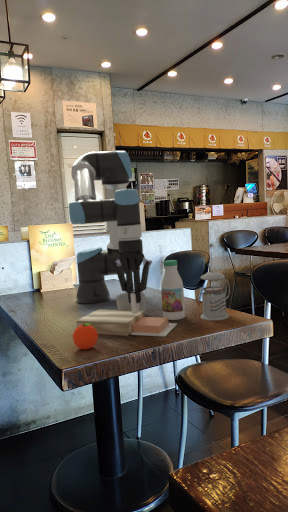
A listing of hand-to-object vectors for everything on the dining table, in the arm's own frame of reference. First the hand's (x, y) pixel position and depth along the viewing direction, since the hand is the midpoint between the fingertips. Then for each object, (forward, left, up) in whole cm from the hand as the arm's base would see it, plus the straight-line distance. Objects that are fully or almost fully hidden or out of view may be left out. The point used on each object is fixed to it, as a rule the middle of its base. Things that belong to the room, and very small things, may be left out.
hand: (135, 312), depth 118 cm
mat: (0, +6, -5) cm, 8 cm away
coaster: (0, +5, -5) cm, 7 cm away
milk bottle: (-14, +8, -6) cm, 17 cm away
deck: (0, -9, -5) cm, 10 cm away
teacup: (-16, -9, -6) cm, 19 cm away
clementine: (+19, -7, -6) cm, 21 cm away
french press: (-18, +22, -6) cm, 29 cm away
